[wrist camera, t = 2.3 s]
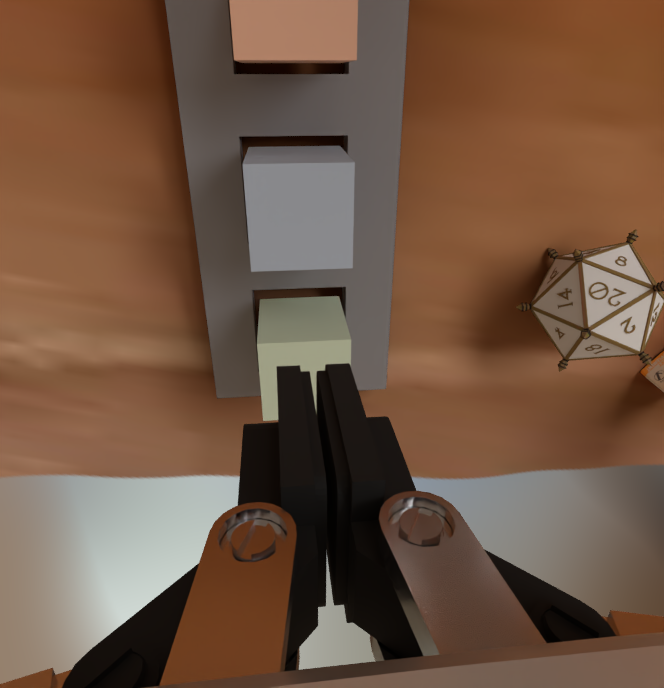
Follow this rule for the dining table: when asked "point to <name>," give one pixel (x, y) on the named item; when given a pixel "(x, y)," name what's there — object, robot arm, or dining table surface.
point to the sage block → (299, 341)
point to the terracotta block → (294, 31)
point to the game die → (598, 303)
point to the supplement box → (655, 371)
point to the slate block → (299, 207)
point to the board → (289, 120)
